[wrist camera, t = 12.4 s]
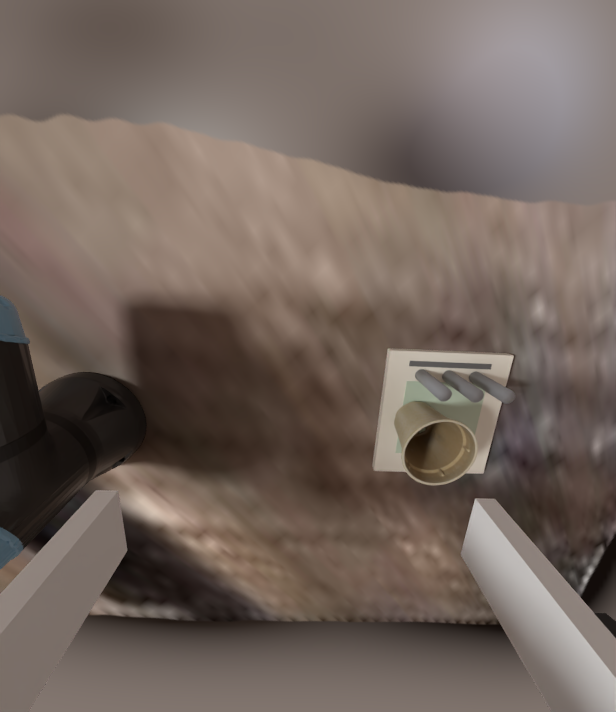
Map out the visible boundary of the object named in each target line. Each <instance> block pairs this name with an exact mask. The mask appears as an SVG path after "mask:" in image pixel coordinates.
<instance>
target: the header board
mask: <svg viewBox="0 0 616 712" xmlns="http://www.w3.org/2000/svg"><path fill="white" fill-rule="evenodd" d="M513 357H514V355H511V354H508V353H488V352H465V351H442V350H420V349H397V348H388V351H387V359H386V366H385V374H384V381H383V389H382V396H381V403H380V411H379V418H378V426H377V433H376V441H375V448H374V456H373V463H372V467H373V470H374V471H396V472H406V471H405V469H404V467H403V464H402V459H401V452H402V447H401V444H400V441H399V438H398V435H397V432H396V429H395V426H394V420H395V416H396V413H397V411H398V410H399V409H400V408H401V407H402V406H403V405H405V404H407V403H409V402H413V401H415V402H424V403H427V404H428V405H430V406H431V407H432V408H434V409H435V410H436V411H438V412H439V413H441V414H442V415H444V416H445V417H447V418H450V419H453V420H457V421H459V422H461V423H463V424H465V425H466V426H468V427H469V428H470V429H471V430H472V432H473V433H474V435H475V437H476V439H477V442H478V453H477V457H476V460H475V462H474V463H473V465H472V466H471V467H470V469H469V470H468V471H467V472H466V473H477V474H483V473H484V469H485V465H486V461H487V457H488V454H489V450H490V446H491V442H492V438H493V434H494V431H495V427H496V423H497V419H498V415H499V411H500V407H501V404H502V402H503V403H505V404H508V403H511V402H512V401H513V400H514V399H515V393H514V392H513V391H512V390H510V389H508V388H506V384H507V381H508V377H509V373H510V369H511V365H512V361H513ZM425 430H426V428H423V429H422V430H420V431H419V433H421V432H423V431H425Z"/></svg>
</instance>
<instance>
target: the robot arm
mask: <svg viewBox="0 0 616 712" xmlns="http://www.w3.org/2000/svg"><path fill="white" fill-rule="evenodd" d="M29 343H30V341H29V339H28V338H27V337H26V336H25V333H24V330H23V328H22V324H21V321H20V318H19V315H18V311H17V309H16V307H15V306H14V304H13V303H12V302H11V301H10V300H8V299H7V298H5V297H3V296H1V295H0V569H1V568H2V567H3V566H5V565H6V564H7V563H8V562H9V561H10V560H12V559H14V558H15V557H16V556H18V555H19V554H20V553H21V551H22V550H23V549H24V548H25V547H26V546H27V545H28V544H29V543H30V542H31V541H32V540H33V539H34V538H35V536H36V535H37V534H38V533H39V532H40V531H41V530H42V529H43V528H44V527H45V526H46V525H47V524H48V523H49V522H50V521H51V520H52V519H53V518H54V517H55V516H56V515H57V514H58V513H59V512H60V511H61V510H62V508H63V507H64V506H65V505H66V504H67V503H68V502H69V501H70V500H71V499H72V498H73V497H74V496H75V495H76V494H77V493H78V492H79V491H80V490H81V489H82V488H83V487H84V486H85V485H86V484H87V483H88V482H89V481H90V480H92V479H94V478H96V477H98V476H100V475H102V474H104V473H106V472H108V471H110V470H111V469H113V468H115V467H117V466H119V465H121V464H122V463H124V462H125V461H126V460H128V459H129V458H130V457H131V455H132V454H133V453H134V452H135V451H136V450H137V449H138V448H139V446H140V445H141V443H142V441H143V439H144V436H145V432H146V420H145V415H144V412H143V409H142V407H141V405H140V403H139V402H138V400H137V399H136V398H135V396H134V395H133V394H132V393H131V392H130V391H129V390H128V389H127V388H126V387H124V386H123V385H122V384H120V383H119V382H117V381H115V380H113V379H111V378H109V377H107V376H104V375H100V374H96V373H88V372H79V373H73V374H69V375H66V376H63V377H61V378H59V379H56V380H54V381H52V382H50V383H48V384H47V385H45V386H44V387H42V388H41V389H40V390H39V391H38V387H37V382H36V378H35V373H34V369H33V364H32V360H31V355H30V351H29V346H28V344H29ZM126 552H127V546H126V539H125V532H124V526H123V519H122V512H121V506H120V499H119V493H118V491H111V490H96V491H95V492H94V493H93V494H92V495H91V496H90V497H89V498H88V499H87V501H86V502H85V503H84V504H83V505H82V506H81V507H80V508H79V509H78V510H77V511H76V512H75V514H74V515H73V516H72V517H71V518H70V519H69V520H68V521H67V522H66V523H65V524H64V525H63V527H62V528H61V529H60V530H59V531H58V532H57V533H56V534H55V535H54V536H53V537H52V538H51V540H50V541H49V542H48V543H47V544H46V545H45V546H44V547H43V548H42V549H41V550H40V551H39V553H38V554H37V555H36V556H35V557H34V558H33V559H32V560H31V561H30V562H29V563H28V565H27V566H26V567H25V568H24V569H23V570H22V571H21V572H20V573H19V574H18V575H17V576H16V578H15V579H14V580H13V581H12V582H11V583H10V584H9V585H8V586H7V587H6V588H5V589H4V591H3V592H2V593H1V594H0V712H29V710H30V709H31V707H32V705H33V704H34V702H35V700H36V699H37V697H38V696H39V694H40V692H41V691H42V689H43V687H44V686H45V684H46V682H47V681H48V679H49V678H50V676H51V674H52V673H53V671H54V669H55V668H56V666H57V665H58V663H59V661H60V660H61V658H62V656H63V655H64V653H65V651H66V650H67V648H68V647H69V645H70V643H71V641H72V640H73V638H74V637H75V635H76V633H77V632H78V630H79V629H80V627H81V625H82V624H83V622H84V620H85V619H86V617H87V615H88V614H89V612H90V611H91V609H92V607H93V606H94V604H95V602H96V601H97V599H98V597H99V596H100V594H101V593H102V591H103V589H104V588H105V586H106V584H107V583H108V581H109V579H110V578H111V576H112V575H113V573H114V571H115V570H116V568H117V566H118V565H119V563H120V561H121V560H122V558H123V557H124V555H125V553H126ZM461 556H462V558H463V560H464V561H465V563H466V565H467V566H468V568H469V570H470V572H471V573H472V575H473V577H474V579H475V580H476V582H477V584H478V586H479V587H480V589H481V591H482V593H483V594H484V596H485V598H486V600H487V601H488V603H489V605H490V607H491V608H492V610H493V612H494V613H495V615H496V617H497V619H498V620H499V622H500V624H501V626H502V627H503V629H504V631H505V633H506V634H507V636H508V638H509V640H510V641H511V643H512V645H513V646H514V648H515V650H516V652H517V653H518V655H519V657H520V659H521V660H522V662H523V664H524V666H525V667H526V669H527V671H528V672H529V674H530V676H531V678H532V680H533V681H534V683H535V684H536V687H537V688H538V690H539V692H540V693H541V695H542V697H543V699H544V700H545V702H546V704H547V706H548V707H549V709H550V711H551V712H616V621H615V620H613V619H612V618H611V617H610V616H608V615H607V614H606V613H595V614H594V613H593V612H592V610H591V609H590V608H589V607H588V606H587V605H586V604H585V602H584V601H583V600H582V599H581V598H580V597H579V595H578V594H577V593H576V592H575V591H574V590H573V588H572V587H571V586H570V585H569V584H568V583H567V582H566V580H565V579H564V578H563V577H562V576H561V575H560V573H559V572H558V571H557V570H556V569H555V568H554V567H553V565H552V564H551V563H550V562H549V561H548V560H547V558H546V557H545V556H544V555H543V554H542V553H541V551H540V550H539V549H538V548H537V547H536V546H535V545H534V543H533V542H532V541H531V540H530V539H529V538H528V536H527V535H526V534H525V533H524V532H523V531H522V530H521V528H520V527H519V526H518V525H517V524H516V523H515V521H514V520H513V519H512V518H511V517H510V516H509V515H508V513H507V512H506V511H505V510H504V509H503V508H502V506H501V505H500V504H499V503H498V502H497V501H496V500H495V499H482V498H475V501H474V505H473V509H472V513H471V517H470V520H469V524H468V528H467V532H466V536H465V540H464V543H463V547H462V551H461Z"/></svg>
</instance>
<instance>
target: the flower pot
mask: <svg viewBox="0 0 616 712" xmlns="http://www.w3.org/2000/svg"><path fill="white" fill-rule="evenodd" d="M394 426H395V429H396V432H397V435H398V438H399V441H400V444H401V447H402V452H401V459H402V464H403V467H404V469H405V471H406V472H407V474H408V475H409V476H410V477H411V478H412V479H414V480H415V481H417V482H419V483H422V484H426V485H442V484H447V483H450V482H453V481H455V480H457V479H458V478H460V477H461V476H463V475H464V474H465V473H466V472H467V471H468V470H469V469H470V467H471V466H472V465H473V463H474V462H475V460H476V457H477V453H478V442H477V439H476V437H475V435H474V433H473V432H472V430H471V429H470V428H469V427H468V426H466V425H465V424H463V423H461V422H459V421H457V420H453V419H450V418H447V417H445V416H444V415H442V414H441V413H439V412H438V411H436V410H435V409H434V408H432V407H431V406H430V405H428V404H427V403H424V402H415V401H413V402H409V403H407V404H405V405H403V406H402V407H401V408H400V409H399V410H398V411H397V413H396V416H395V420H394ZM423 428H426V430H425V431H423V432H421V433H419V431H420V430H422V429H423Z"/></svg>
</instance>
